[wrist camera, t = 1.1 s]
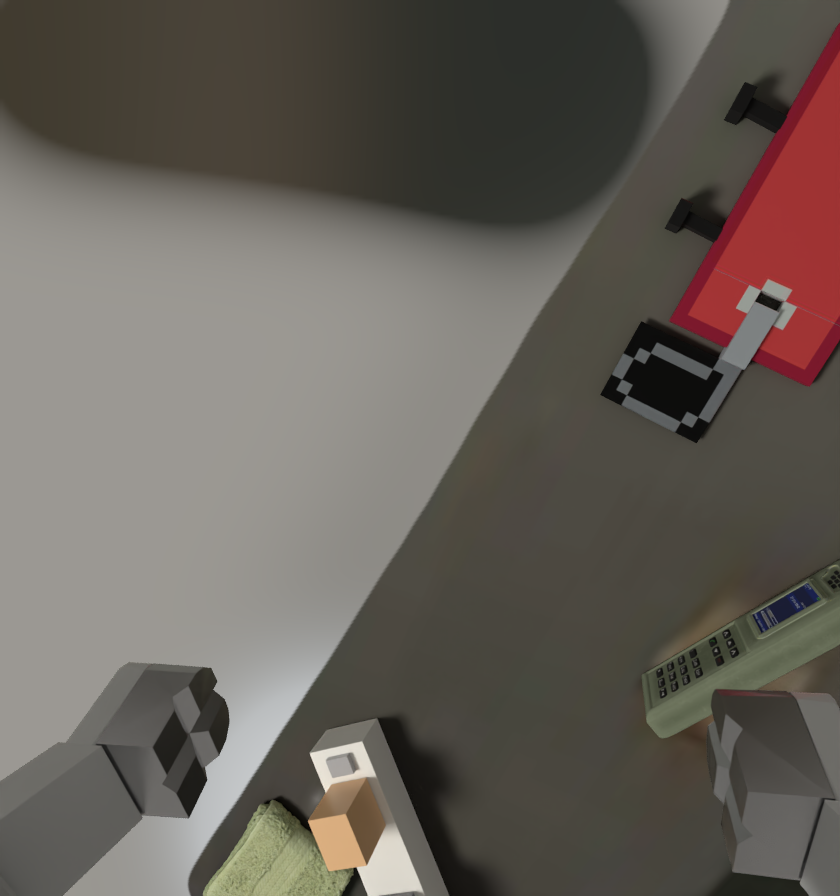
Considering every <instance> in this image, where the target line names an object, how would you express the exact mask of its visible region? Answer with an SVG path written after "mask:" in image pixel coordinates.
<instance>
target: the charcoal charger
mask: <svg viewBox="0 0 840 896" xmlns="http://www.w3.org/2000/svg"><path fill="white" fill-rule="evenodd" d="M384 896H415V895H414V892H407V893H400V894H392V895H384Z"/></svg>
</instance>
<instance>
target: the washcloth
mask: <svg viewBox="0 0 840 896" xmlns="http://www.w3.org/2000/svg"><path fill="white" fill-rule="evenodd" d="M353 872H354V871H353V868H348V869H341V870H335V871H328V868H327V866H326V864H325V861H324V859H323V856H322V854H321V852H320V849H319V847H318V844H317V842H316V840H315V837H314V835H313V834H312V833H310V831H308V830H307V829H305V828H304V827H303V826H302V825H301V824H300V821H299V820H298V819H297V818H296V817H295V816H292V814H291V813H290V811H287V810H286V808H284V807H283V806H282V803H279V802H277V801H275V800H272V801H271V802H270V803H269V804H261V805H259V807H258V810H257V811H256V812H255V813H254V816H253V817H252V819H251V821H250V822H249V824H248V828H247V830H246V831H245V833H244V835H243V836H242V837H241V839H240V840H239V841H238V845H236V846H235V849H234V850H233V851H232V852H231V854H230V856H229V857H228V860H227V861H225V862H224V865H223V866H222V867H221V868H220V869H219V870H217V872H216V874H215V875H213V877H212V879H211V880H210V881H209V883H208V884H207V886H206V887H205V890H204V892H203V896H342V893H343V891H345V887H346V886H347V884H348V883H349V881H350V878H351V876H352V875H353Z"/></svg>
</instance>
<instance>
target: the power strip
mask: <svg viewBox="0 0 840 896" xmlns="http://www.w3.org/2000/svg"><path fill="white" fill-rule="evenodd" d="M310 756H311V758H312V760H313V763H314V765H315V768H316V770H317V773H318V775H319V777H320V780H321V782H322V785H323V787H324V789H325V792H327V790H328V789H329V787H330V786H331V785H332V784H337V783H342V782H347V781H352V780H357V779H362V778H367V780H368V782H369V785H370V787H371V790H372V792H373V795H374V797H375V800H376V802H377V804H378V807H379V809H380V812H381V814H382V817H383V819H384V822H385V824H386V827H385V829H384V831H383V833H382V835H381V837H380V839H379V841H378V843H377V845H376V848H375V850H374V852H373V854H372V856H371V858H370V860H369V862H368V864H367V866H361V867H357V870H358V872H359V874H360V877H361V879H362V882H363V884H364V887H365V889H366V891H367V894H368V896H384V895H392V894H400V893H407V892H414V895H415V896H449V894H448V891H447V889H446V886H445V884H444V881H443V879H442V877H441V874H440V872H439V869H438V867H437V864H436V862H435V859H434V857H433V854H432V852H431V849H430V847H429V845H428V842H427V840H426V837H425V835H424V832H423V830H422V827H421V825H420V822H419V820H418V818H417V815H416V813H415V810H414V808H413V805H412V803H411V800H410V798H409V795H408V793H407V790H406V788H405V786H404V783H403V781H402V778H401V776H400V773H399V771H398V768H397V766H396V763H395V761H394V759H393V756H392V754H391V751H390V749H389V746H388V744H387V741H386V739H385V736H384V734H383V731H382V729H381V727H380V724H379V722H378V719H377V718H375V719H371V720H367V721H362V722H358V723H354V724H350V725H345V726H341V727H337V728H333V729H328V730H326V732H325V733H324V734H323V736H322V737H321V738H320V740H319V741H318V742H317V744H316V745H315V746H314V748H313V749H312V750H311V752H310Z"/></svg>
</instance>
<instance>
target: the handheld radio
mask: <svg viewBox="0 0 840 896" xmlns="http://www.w3.org/2000/svg"><path fill="white" fill-rule="evenodd" d="M838 645H840V559H839V560H838V561H836V562H834V563H833V564H831V565H829V566H827V567H826V568H824V569H822V570H820V571H819V572H817V573H815V574H814V575H812V576H810V577H808V578H807V579H805V580H803V581H801V582H800V583H798V584H796V585H795V586H793V587H791V588H789V589H788V590H786V591H784V592H782V593H781V594H779V595H777V596H776V597H774V598H772V599H770V600H769V601H767V602H765V603H763V604H762V605H760V606H758V607H757V608H755V609H753V610H751V611H750V612H748V613H746V614H744V615H743V616H741V617H739V618H738V619H736V620H734V621H732V622H731V623H729V624H727V625H726V626H724V627H722V628H721V629H719V630H717V631H715V632H714V633H712V634H710V635H709V636H707V637H705V638H704V639H702V640H700V641H698V642H697V643H695V644H693V645H692V646H690V647H688V648H687V649H685V650H683V651H681V652H680V653H678V654H676V655H675V656H673V657H671V658H670V659H668V660H666V661H664V662H663V663H661V664H659V665H658V666H656V667H654V668H653V669H651V670H649V671H647V672H646V673H644V674H643V675H642V686H643V694H644V703H645V711H646V719H647V723H648V725H649V726H650V727H651V728H652V729H653V730H654V732H655V733H656V734H657V735H658V736H659V737H660V738H667V737H669V736H672V735H674V734H676V733H678V732H680V731H682V730H684V729H685V728H687V727H689V726H691V725H693V724H695V723H697V722H698V721H700V720H702V719H704V718H706V717H708V716H710V715H711V714H713V713H712V709H711V700H712V694H713V692H714V690H715V689H734V690H757V689H759V688H760V687H762V686H764V685H766V684H768V683H770V682H772V681H773V680H775V679H777V678H779V677H781V676H783V675H784V674H786V673H788V672H790V671H792V670H794V669H796V668H797V667H799V666H801V665H803V664H805V663H807V662H809V661H810V660H812V659H814V658H816V657H818V656H820V655H822V654H823V653H825V652H827V651H829V650H831V649H833V648H835V647H836V646H838Z"/></svg>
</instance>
